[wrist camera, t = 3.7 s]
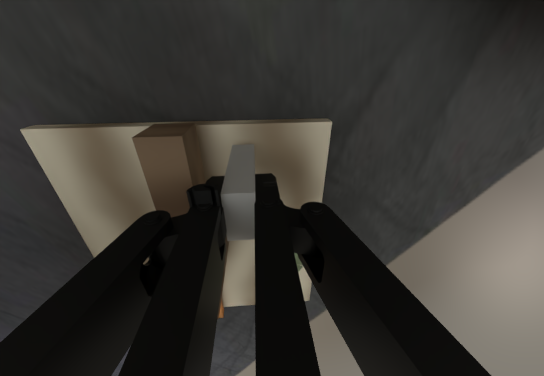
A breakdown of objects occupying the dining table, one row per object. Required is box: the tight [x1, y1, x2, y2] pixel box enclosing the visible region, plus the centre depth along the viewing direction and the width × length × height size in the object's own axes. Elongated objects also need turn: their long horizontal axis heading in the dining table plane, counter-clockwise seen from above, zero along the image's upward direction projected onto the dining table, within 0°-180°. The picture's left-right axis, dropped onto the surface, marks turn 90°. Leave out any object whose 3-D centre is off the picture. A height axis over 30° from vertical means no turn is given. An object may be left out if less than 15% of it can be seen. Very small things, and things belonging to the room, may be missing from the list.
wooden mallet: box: [132, 123, 229, 319], centre depth 18 cm, size 22×4×7 cm, turn 0°
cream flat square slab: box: [20, 118, 332, 307], centre depth 22 cm, size 22×22×1 cm
